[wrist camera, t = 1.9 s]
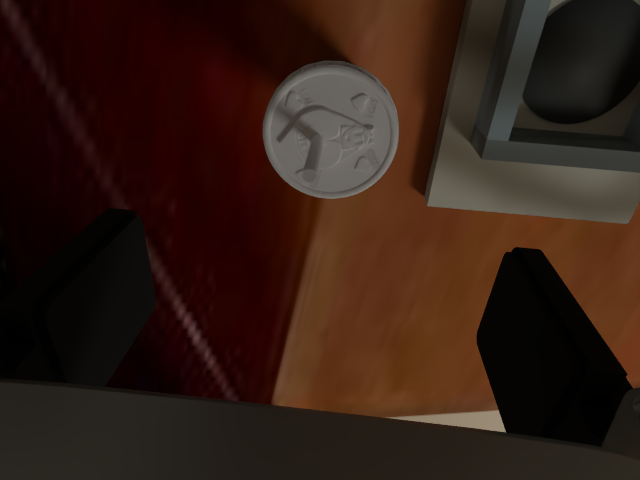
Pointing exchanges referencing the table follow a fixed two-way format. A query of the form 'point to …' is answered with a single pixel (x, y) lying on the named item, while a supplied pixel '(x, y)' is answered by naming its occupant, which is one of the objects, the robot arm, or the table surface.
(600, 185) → the holder
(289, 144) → the smoothie
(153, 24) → the table surface
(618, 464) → the robot arm
